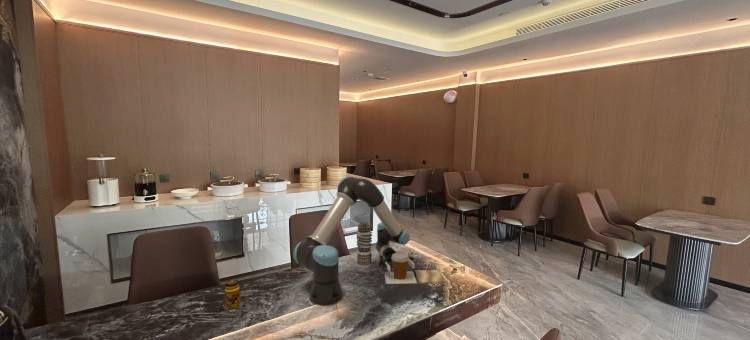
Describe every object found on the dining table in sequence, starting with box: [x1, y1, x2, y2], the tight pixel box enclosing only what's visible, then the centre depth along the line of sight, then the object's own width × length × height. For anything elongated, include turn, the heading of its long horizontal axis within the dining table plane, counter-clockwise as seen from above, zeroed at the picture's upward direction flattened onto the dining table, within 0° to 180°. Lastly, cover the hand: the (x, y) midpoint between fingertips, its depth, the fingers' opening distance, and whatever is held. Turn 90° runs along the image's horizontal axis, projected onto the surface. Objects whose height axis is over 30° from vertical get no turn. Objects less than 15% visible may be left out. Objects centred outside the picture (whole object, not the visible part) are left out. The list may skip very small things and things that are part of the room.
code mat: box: [383, 270, 418, 285], centre depth 169 cm, size 16×14×1 cm
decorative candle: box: [356, 221, 373, 268], centre depth 185 cm, size 9×9×25 cm
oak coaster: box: [414, 269, 447, 284], centre depth 169 cm, size 14×14×1 cm
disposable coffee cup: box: [391, 251, 409, 279], centre depth 168 cm, size 10×10×12 cm
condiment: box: [224, 279, 242, 310], centre depth 140 cm, size 7×8×12 cm
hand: (401, 267), depth 166 cm, fingers open, 13 cm apart
